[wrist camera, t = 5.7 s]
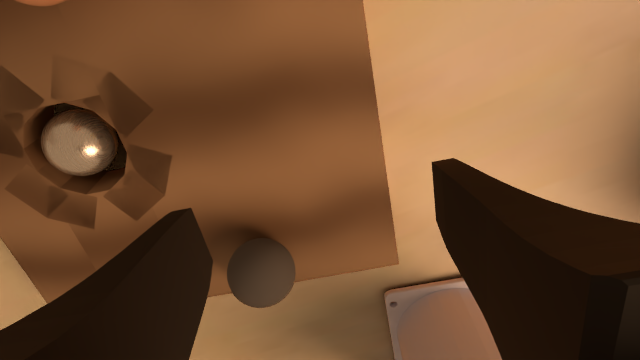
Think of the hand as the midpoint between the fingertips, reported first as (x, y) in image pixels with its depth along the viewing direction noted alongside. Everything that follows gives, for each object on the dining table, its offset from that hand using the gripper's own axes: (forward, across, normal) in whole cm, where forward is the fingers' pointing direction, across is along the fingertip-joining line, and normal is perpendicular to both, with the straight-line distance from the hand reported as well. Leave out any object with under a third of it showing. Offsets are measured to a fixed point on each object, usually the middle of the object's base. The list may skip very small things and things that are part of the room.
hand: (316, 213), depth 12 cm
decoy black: (+6, +4, +6) cm, 10 cm away
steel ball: (+8, +11, -1) cm, 14 cm away
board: (+10, +7, -1) cm, 12 cm away
